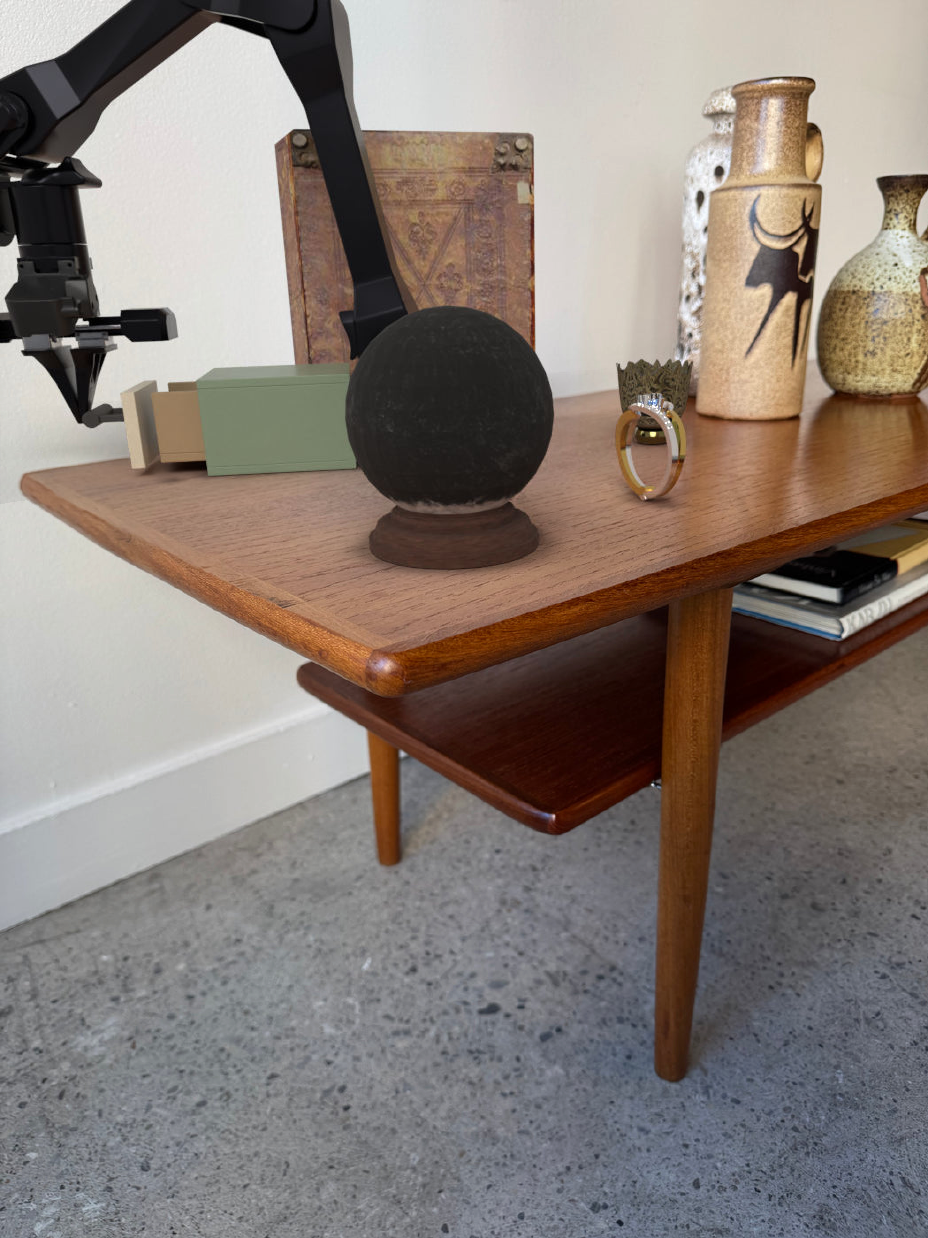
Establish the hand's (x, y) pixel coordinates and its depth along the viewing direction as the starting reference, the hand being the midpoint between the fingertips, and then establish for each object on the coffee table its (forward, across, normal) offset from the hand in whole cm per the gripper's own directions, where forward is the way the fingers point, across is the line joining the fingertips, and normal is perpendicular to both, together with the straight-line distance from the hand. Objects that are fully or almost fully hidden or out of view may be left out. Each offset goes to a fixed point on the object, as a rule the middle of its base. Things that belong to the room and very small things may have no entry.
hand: (83, 423), depth 87 cm
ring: (+5, +48, -24) cm, 54 cm away
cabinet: (+4, +19, 0) cm, 19 cm away
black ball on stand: (+5, +32, -33) cm, 46 cm away
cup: (+5, +56, 0) cm, 56 cm away
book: (+5, +33, +14) cm, 36 cm away
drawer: (+4, +9, 0) cm, 10 cm away
